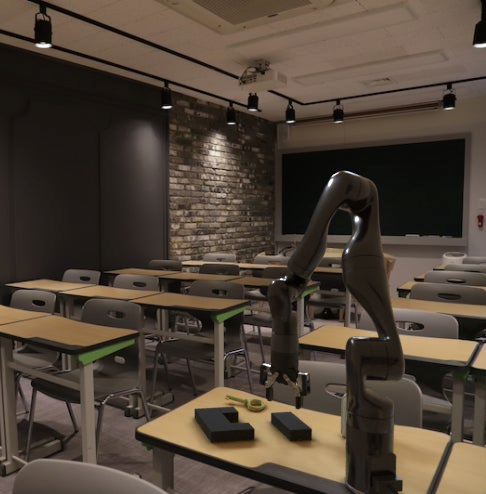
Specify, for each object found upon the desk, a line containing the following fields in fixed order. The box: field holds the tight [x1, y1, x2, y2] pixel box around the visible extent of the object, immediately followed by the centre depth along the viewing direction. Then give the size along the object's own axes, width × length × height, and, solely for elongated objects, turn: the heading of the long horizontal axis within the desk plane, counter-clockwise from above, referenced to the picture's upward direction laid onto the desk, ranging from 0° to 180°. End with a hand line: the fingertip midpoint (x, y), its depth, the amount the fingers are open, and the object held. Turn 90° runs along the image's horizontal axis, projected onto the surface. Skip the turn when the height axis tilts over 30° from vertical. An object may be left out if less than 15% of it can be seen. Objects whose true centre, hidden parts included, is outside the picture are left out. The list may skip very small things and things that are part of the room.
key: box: [224, 394, 266, 412], centre depth 154 cm, size 7×12×2 cm, turn 77°
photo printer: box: [340, 393, 346, 438], centre depth 133 cm, size 10×4×12 cm, turn 123°
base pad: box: [194, 406, 256, 444], centre depth 137 cm, size 16×12×3 cm
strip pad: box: [270, 411, 313, 442], centre depth 135 cm, size 6×12×3 cm, turn 7°
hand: (284, 404), depth 138 cm, fingers open, 8 cm apart
